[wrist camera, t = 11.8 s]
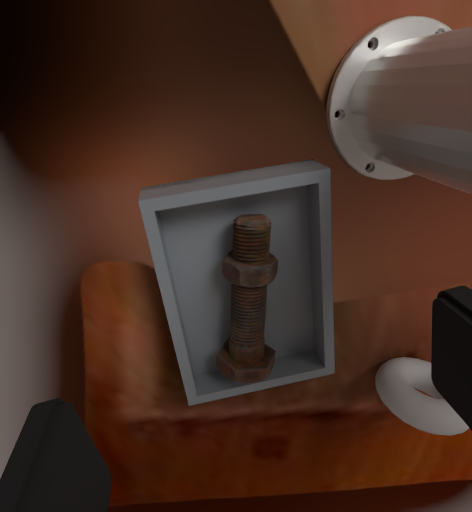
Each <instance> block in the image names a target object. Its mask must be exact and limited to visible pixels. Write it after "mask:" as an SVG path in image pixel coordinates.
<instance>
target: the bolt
mask: <svg viewBox="0 0 472 512" xmlns="http://www.w3.org/2000/svg"><path fill="white" fill-rule="evenodd" d="M233 222H234V223H233V226H234V227H233V229H234V230H233V233H234V234H233V237H234V238H233V243H232V244H233V246H232V247H233V250H232V251H231V252H229V253H228V254H227V255H226V256H225V258H224V259H223V261H222V275H223V276H224V277H225V278H226V279H227V280H228V281H229V282H230V283H232V285H231V287H232V288H231V294H232V295H231V318H230V320H231V321H230V323H231V324H230V336H229V339H227V341H226V342H225V343H224V345H223V346H222V348H221V349H220V351H219V352H218V353H217V355H216V366H217V367H218V369H219V370H220V371H221V372H222V374H223V375H224V376H225V377H227V378H228V379H230V380H232V381H236V382H240V383H245V384H250V383H256V382H260V381H262V380H264V379H267V378H268V376H269V374H270V372H271V370H272V368H273V365H274V361H275V353H276V351H275V350H274V349H272V348H271V347H269V346H268V345H266V344H265V338H264V329H265V317H266V300H267V285H268V284H270V283H272V282H273V281H274V279H275V277H276V274H277V272H278V259H277V258H276V257H275V256H274V255H273V254H271V253H270V252H269V251H270V249H269V248H270V236H271V235H270V233H271V230H270V229H271V225H272V223H271V222H270V219H267V217H266V216H265V215H263V214H244V215H240V216H237V217H236V218H235V219H234V220H233Z"/></svg>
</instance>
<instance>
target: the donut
mask: <svg viewBox="0 0 472 512" xmlns="http://www.w3.org/2000/svg"><path fill="white" fill-rule="evenodd" d="M375 382H376V390H377V392H378V394H379V396H380V398H381V400H382V402H383V403H384V404H385V405H386V406H387V407H388V408H389V410H390V411H391V412H392V413H393V414H395V415H396V416H397V417H399V418H400V419H401V420H403V421H404V422H406V423H407V424H409V425H411V426H413V427H415V428H417V429H419V430H422V431H425V432H429V433H432V434H439V435H455V434H460V433H463V432H465V431H466V430H467V429H469V427H468V426H467V424H466V423H465V422H464V421H463V420H462V419H461V418H460V416H459V415H458V414H457V413H456V412H455V411H454V410H453V408H452V407H451V406H450V405H449V404H448V403H447V402H446V400H445V399H444V398H443V397H442V396H441V395H440V393H439V392H438V391H437V390H436V388H435V387H434V385H433V382H432V379H431V363H430V362H427V361H424V360H420V359H416V358H408V357H401V358H393V359H390V360H388V361H387V362H385V363H383V364H382V365H381V366H380V368H379V370H378V372H377V373H376V377H375ZM414 388H415V389H418V390H421V391H423V392H425V393H427V394H429V395H430V396H432V397H433V398H432V397H429V396H426V395H424V394H422V393H420V392H418V391H417V390H415V389H414Z"/></svg>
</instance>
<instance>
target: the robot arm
mask: <svg viewBox="0 0 472 512" xmlns="http://www.w3.org/2000/svg"><path fill="white" fill-rule="evenodd" d="M368 42H370V47H369V48H368ZM336 111H337V112H338V115H337V117H335V112H336ZM326 120H327V126H328V133H329V136H330V139H331V141H332V144H333V147H334V148H335V150H336V152H337V153H338V155H339V157H340V158H341V159H342V160H343V161H344V162H345V163H346V164H347V165H348V166H349V167H350V168H352V169H353V170H355V171H356V172H358V173H360V174H362V175H364V176H367V177H370V178H374V179H378V180H396V179H402V178H406V177H409V176H411V175H414V174H417V175H420V176H423V177H425V178H428V179H431V180H434V181H437V182H439V183H442V184H445V185H448V186H451V187H454V188H457V189H459V190H462V191H465V192H468V193H471V194H472V27H467V28H462V29H457V30H451V29H450V28H449V27H448V26H447V25H445V24H443V23H441V22H439V21H438V20H436V19H432V18H428V17H424V16H407V17H402V18H398V19H394V20H391V21H389V22H386V23H383V24H380V25H379V26H377V27H375V28H374V29H372V30H371V31H369V32H367V33H366V34H365V35H364V36H363V37H361V38H360V39H359V40H358V41H357V42H356V43H355V44H354V45H353V46H352V47H351V49H350V50H349V51H348V52H347V54H346V55H345V56H344V58H343V59H342V61H341V63H340V65H339V67H338V68H337V70H336V72H335V75H334V77H333V80H332V83H331V86H330V89H329V94H328V99H327V112H326ZM367 164H368V166H367V168H366V165H367ZM431 379H432V382H433V385H434V387H435V388H436V390H437V391H438V392H439V393H440V395H441V396H442V397H443V398H444V399H445V400H446V402H447V403H448V404H449V405H450V406H451V407H452V408H453V410H454V411H455V412H456V413H457V414H458V415H459V416H460V418H461V419H462V420H463V421H464V422H465V423H466V424H467V426H468V427H469V428H470V429H471V430H472V290H471V289H469V288H468V287H466V286H458V287H455V288H451V289H448V290H444V291H441V292H439V294H438V296H437V299H434V301H433V306H432V359H431ZM110 491H111V475H110V471H109V469H108V467H107V465H106V464H105V462H104V460H103V458H102V457H101V455H100V453H99V451H98V450H97V448H96V446H95V444H94V442H93V441H92V439H91V437H90V435H89V434H88V432H87V430H86V428H85V427H84V425H83V423H82V421H81V419H80V418H79V416H78V414H77V413H76V411H75V409H74V407H73V405H72V404H71V403H70V402H64V401H63V400H62V399H61V398H57V399H53V400H49V401H46V402H42V403H38V404H35V405H34V406H33V407H32V408H31V410H30V412H29V414H28V417H27V419H26V421H25V424H24V426H23V428H22V430H21V433H20V435H19V437H18V440H17V442H16V444H15V447H14V449H13V451H12V453H11V456H10V458H9V460H8V463H7V465H6V467H5V470H4V472H3V474H2V477H1V479H0V512H107V511H108V505H109V498H110Z"/></svg>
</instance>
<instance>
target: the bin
mask: <svg viewBox="0 0 472 512" xmlns="http://www.w3.org/2000/svg"><path fill="white" fill-rule="evenodd" d="M138 203H139V207H140V211H141V214H142V219H143V223H144V227H145V231H146V235H147V239H148V243H149V247H150V251H151V255H152V259H153V263H154V267H155V271H156V275H157V279H158V283H159V288H160V292H161V296H162V300H163V304H164V308H165V312H166V316H167V320H168V324H169V328H170V332H171V336H172V340H173V344H174V348H175V352H176V356H177V360H178V364H179V368H180V372H181V376H182V380H183V384H184V388H185V392H186V396H187V400H188V404H189V406H191V405H195V404H200V403H204V402H209V401H213V400H218V399H222V398H227V397H231V396H236V395H240V394H245V393H249V392H254V391H258V390H263V389H267V388H272V387H276V386H281V385H285V384H290V383H294V382H299V381H303V380H307V379H312V378H316V377H321V376H325V375H330V374H334V373H335V362H334V313H333V264H332V217H331V216H332V215H331V168H329V167H327V166H325V165H323V164H321V163H319V162H317V161H315V160H307V161H300V162H294V163H288V164H282V165H276V166H270V167H264V168H258V169H252V170H246V171H240V172H234V173H228V174H222V175H216V176H210V177H204V178H198V179H192V180H187V181H180V182H174V183H168V184H162V185H156V186H150V187H144V188H141V192H140V196H139V199H138ZM244 214H263V215H265V216H266V217H267V219H270V222H271V223H272V225H271V229H270V230H271V233H270V235H271V236H270V248H269V249H270V251H269V252H270V253H271V254H273V255H274V256H275V257H276V258H277V259H278V272H277V274H276V277H275V279H274V281H273V282H272V283H270V284H268V285H267V300H266V317H265V329H264V338H265V344H266V345H268V346H269V347H271V348H272V349H274V350H275V351H276V353H275V361H274V365H273V368H272V370H271V372H270V374H269V376H268V378H267V379H264V380H262V381H260V382H256V383H250V384H245V383H240V382H236V381H232V380H230V379H228V378H227V377H225V376H224V375H223V374H222V372H221V371H220V370H219V369H218V367H217V366H216V355H217V353H218V352H219V351H220V349H221V348H222V346H223V345H224V343H225V342H226V341H227V339H229V336H230V324H231V323H230V321H231V320H230V318H231V295H232V294H231V288H232V287H231V285H232V283H230V282H229V281H228V280H227V279H226V278H225V277H224V276H223V275H222V261H223V259H224V258H225V256H226V255H227V254H228V253H229V252H231V251H232V250H233V247H232V246H233V244H232V243H233V238H234V237H233V234H234V233H233V230H234V229H233V227H234V226H233V223H234V222H233V220H234V219H235V218H236V217H237V216H240V215H244Z"/></svg>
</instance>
